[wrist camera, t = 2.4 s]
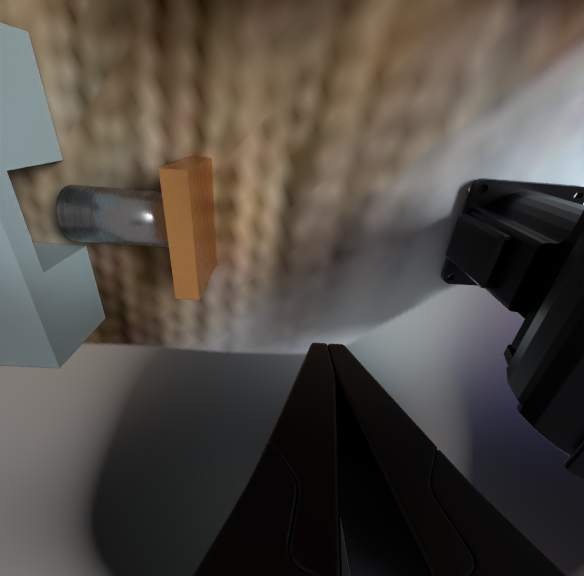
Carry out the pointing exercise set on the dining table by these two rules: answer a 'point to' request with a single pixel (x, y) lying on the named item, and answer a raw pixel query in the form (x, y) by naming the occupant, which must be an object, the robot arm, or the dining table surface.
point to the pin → (152, 220)
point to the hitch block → (15, 236)
